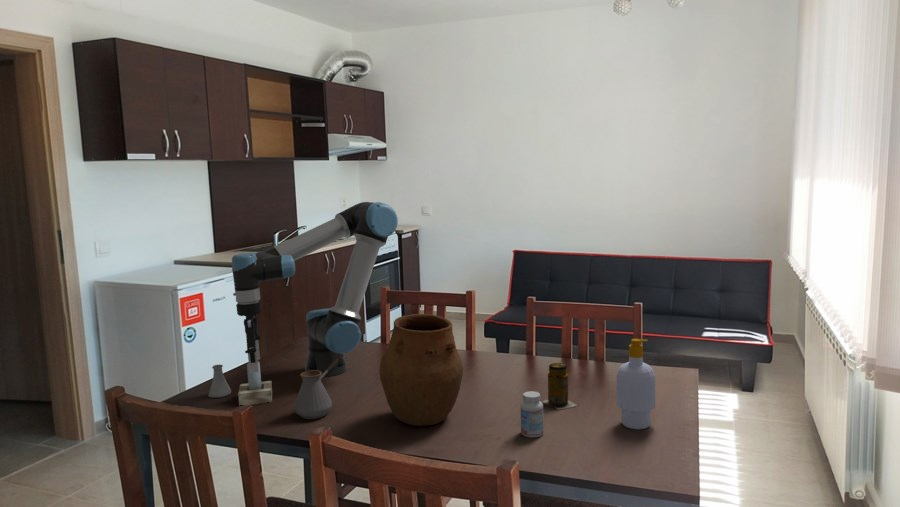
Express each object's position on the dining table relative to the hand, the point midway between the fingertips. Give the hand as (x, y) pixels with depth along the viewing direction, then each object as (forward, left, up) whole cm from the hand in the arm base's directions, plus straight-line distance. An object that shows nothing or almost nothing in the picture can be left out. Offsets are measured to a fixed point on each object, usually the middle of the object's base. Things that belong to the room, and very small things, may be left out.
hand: (255, 365), depth 210 cm
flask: (+12, -9, -11) cm, 19 cm away
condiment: (-90, +38, -11) cm, 98 cm away
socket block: (0, 0, -11) cm, 11 cm away
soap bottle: (-103, +60, -11) cm, 119 cm away
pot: (-48, +36, -11) cm, 61 cm away
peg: (+1, 0, -11) cm, 11 cm away
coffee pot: (-21, +17, -11) cm, 29 cm away
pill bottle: (-74, +56, -11) cm, 93 cm away
